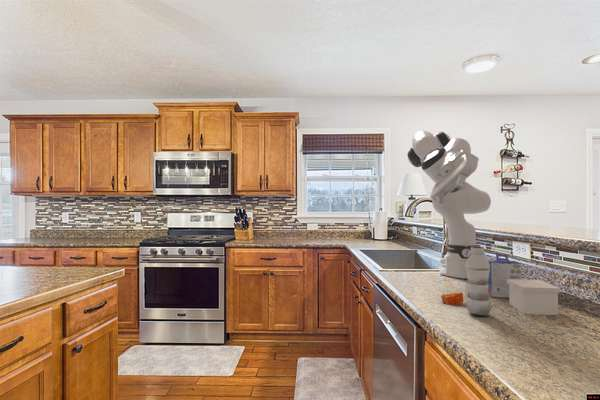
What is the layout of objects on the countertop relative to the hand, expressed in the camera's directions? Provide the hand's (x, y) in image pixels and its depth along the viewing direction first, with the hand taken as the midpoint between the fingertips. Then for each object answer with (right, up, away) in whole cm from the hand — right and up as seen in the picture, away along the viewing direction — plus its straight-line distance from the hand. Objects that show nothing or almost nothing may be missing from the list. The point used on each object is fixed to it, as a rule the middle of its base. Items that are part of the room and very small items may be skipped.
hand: (449, 194), depth 104 cm
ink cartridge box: (+23, -36, +6) cm, 43 cm away
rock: (+1, -37, 0) cm, 37 cm away
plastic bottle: (+3, -36, -12) cm, 38 cm away
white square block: (+22, -36, -8) cm, 43 cm away
